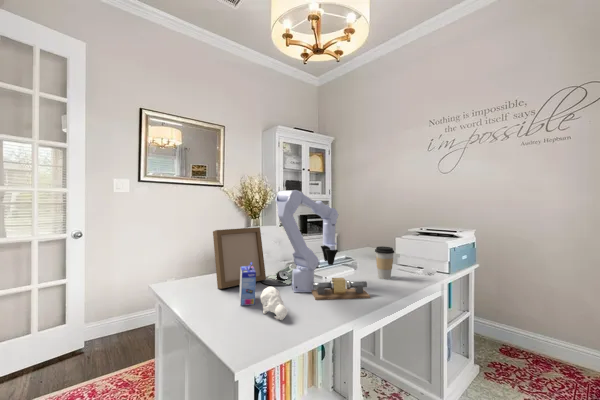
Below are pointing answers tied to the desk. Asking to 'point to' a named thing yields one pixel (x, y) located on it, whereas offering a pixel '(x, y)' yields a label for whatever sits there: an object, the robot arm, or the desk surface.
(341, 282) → the block
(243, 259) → the photo frame
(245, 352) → the desk surface
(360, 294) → the stand
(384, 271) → the coffee cup
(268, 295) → the white sculpted piece
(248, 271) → the ink cartridge box
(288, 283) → the metal bracket
